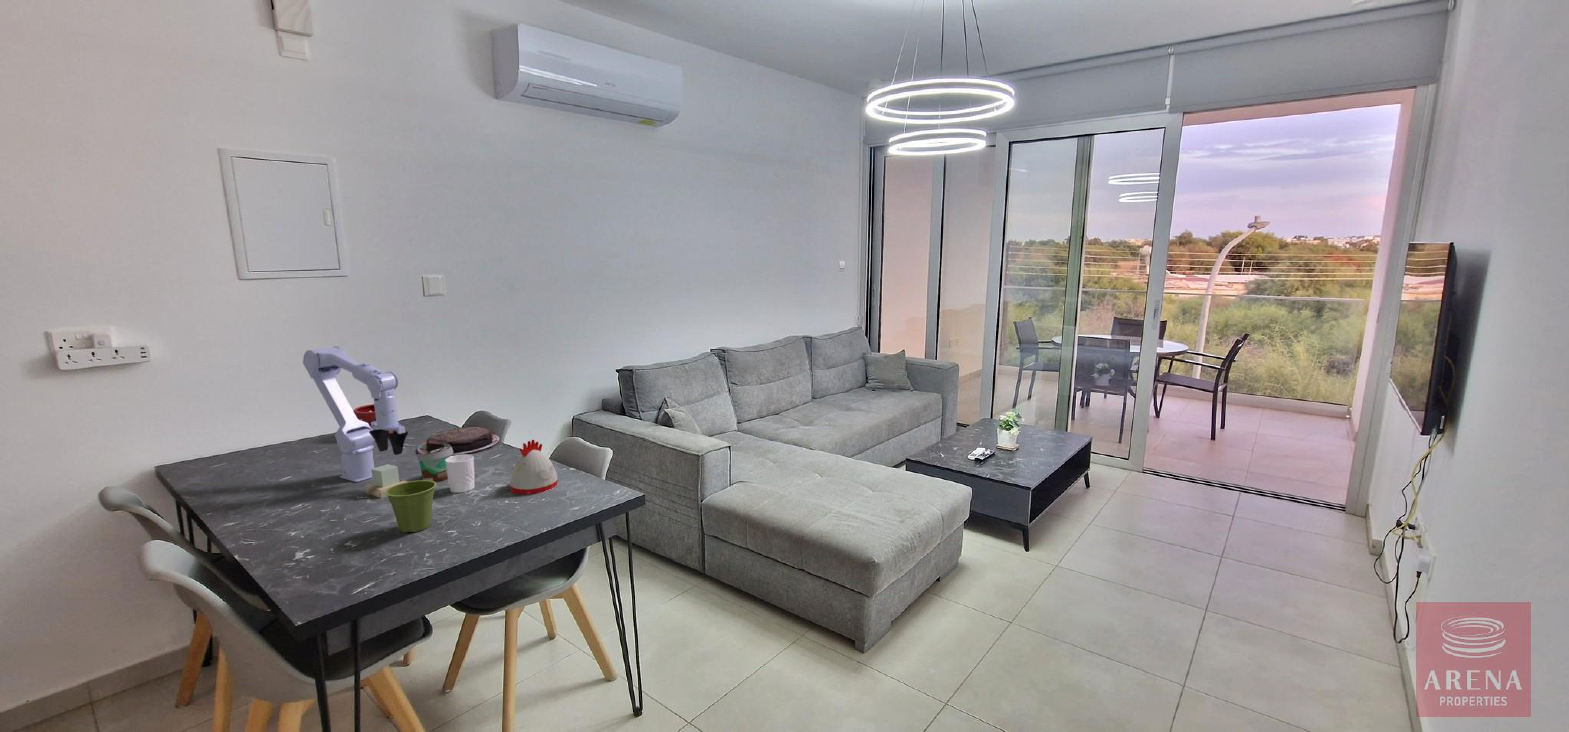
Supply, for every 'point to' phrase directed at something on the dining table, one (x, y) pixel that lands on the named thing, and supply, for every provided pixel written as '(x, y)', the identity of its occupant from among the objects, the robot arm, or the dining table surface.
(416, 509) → the plant pot
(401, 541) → the dining table surface
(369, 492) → the oak block
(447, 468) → the white cup
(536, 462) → the kitchen timer
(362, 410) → the plant pot
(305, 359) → the robot arm
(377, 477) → the sage cube
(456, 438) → the chocolate cake
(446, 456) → the food container
